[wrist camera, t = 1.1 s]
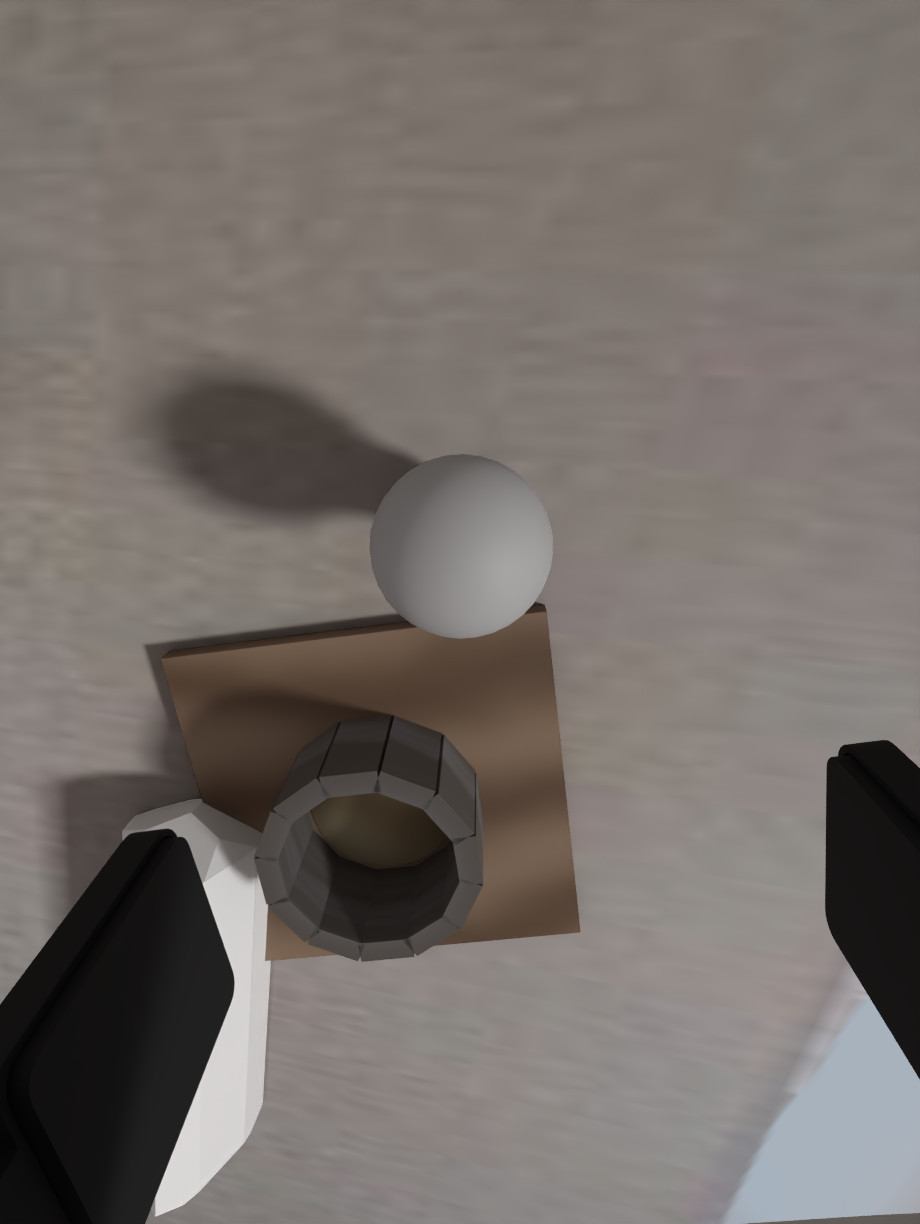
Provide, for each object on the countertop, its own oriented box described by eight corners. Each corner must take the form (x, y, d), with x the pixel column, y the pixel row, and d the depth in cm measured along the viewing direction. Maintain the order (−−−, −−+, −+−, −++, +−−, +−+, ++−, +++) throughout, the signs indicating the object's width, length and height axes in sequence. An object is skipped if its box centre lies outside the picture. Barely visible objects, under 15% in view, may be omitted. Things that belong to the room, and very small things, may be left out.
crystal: (276, 1190, 40) (301, 841, 33) (140, 1251, 37) (132, 876, 29) (247, 1076, 47) (262, 759, 39) (127, 1120, 43) (117, 780, 35)
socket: (169, 651, 34) (106, 706, 28) (544, 604, 33) (558, 653, 27) (255, 948, 39) (217, 1044, 34) (578, 918, 38) (595, 1013, 32)
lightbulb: (376, 541, 32) (326, 621, 21) (428, 412, 30) (400, 431, 20) (500, 593, 32) (510, 695, 22) (558, 469, 31) (598, 518, 20)
